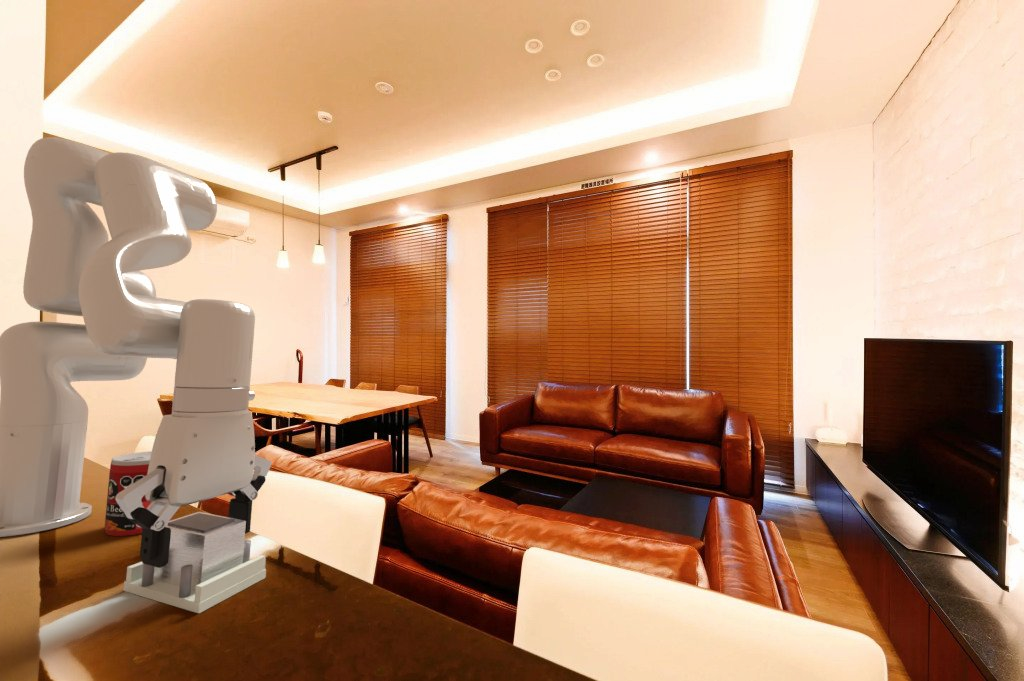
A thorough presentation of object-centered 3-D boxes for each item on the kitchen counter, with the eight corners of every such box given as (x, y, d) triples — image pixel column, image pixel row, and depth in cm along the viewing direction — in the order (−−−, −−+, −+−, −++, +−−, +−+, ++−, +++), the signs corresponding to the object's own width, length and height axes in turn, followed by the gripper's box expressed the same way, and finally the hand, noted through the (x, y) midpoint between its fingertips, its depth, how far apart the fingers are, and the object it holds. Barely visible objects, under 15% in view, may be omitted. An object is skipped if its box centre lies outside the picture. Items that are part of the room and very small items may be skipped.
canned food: (94, 530, 63) (102, 456, 64) (158, 514, 70) (164, 448, 71) (116, 541, 59) (124, 463, 60) (181, 523, 66) (187, 454, 67)
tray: (123, 590, 47) (126, 554, 47) (196, 560, 55) (198, 529, 55) (198, 613, 43) (202, 574, 44) (265, 577, 51) (268, 544, 51)
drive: (150, 578, 48) (155, 523, 48) (194, 560, 53) (198, 510, 53) (200, 592, 45) (204, 534, 46) (242, 571, 50) (246, 519, 51)
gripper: (253, 396, 60) (243, 517, 59) (104, 405, 43) (87, 574, 42) (294, 399, 57) (285, 525, 56) (152, 409, 41) (136, 588, 40)
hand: (200, 546), depth 49 cm, fingers open, 9 cm apart
